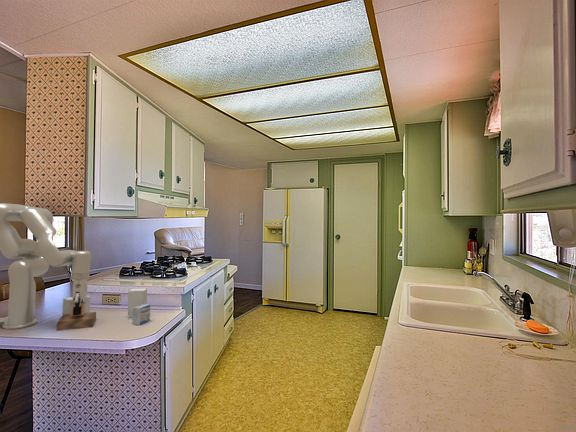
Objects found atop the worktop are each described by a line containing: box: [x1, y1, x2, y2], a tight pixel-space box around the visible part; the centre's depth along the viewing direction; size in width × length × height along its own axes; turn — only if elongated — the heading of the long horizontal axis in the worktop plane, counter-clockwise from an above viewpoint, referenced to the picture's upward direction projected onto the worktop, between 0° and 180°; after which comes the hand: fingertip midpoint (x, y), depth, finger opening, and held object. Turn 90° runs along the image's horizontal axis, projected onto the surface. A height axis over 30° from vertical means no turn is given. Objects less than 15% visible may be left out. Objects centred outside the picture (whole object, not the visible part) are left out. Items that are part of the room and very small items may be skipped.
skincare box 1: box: [62, 295, 91, 315], centre depth 156 cm, size 10×6×10 cm, turn 152°
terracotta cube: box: [71, 302, 86, 316], centre depth 144 cm, size 5×5×5 cm
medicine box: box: [131, 303, 151, 326], centre depth 150 cm, size 8×4×9 cm, turn 168°
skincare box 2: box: [127, 287, 148, 319], centre depth 160 cm, size 8×6×15 cm
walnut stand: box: [56, 311, 97, 332], centre depth 144 cm, size 14×12×4 cm
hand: (78, 312), depth 144 cm, fingers closed on terracotta cube, 4 cm apart
